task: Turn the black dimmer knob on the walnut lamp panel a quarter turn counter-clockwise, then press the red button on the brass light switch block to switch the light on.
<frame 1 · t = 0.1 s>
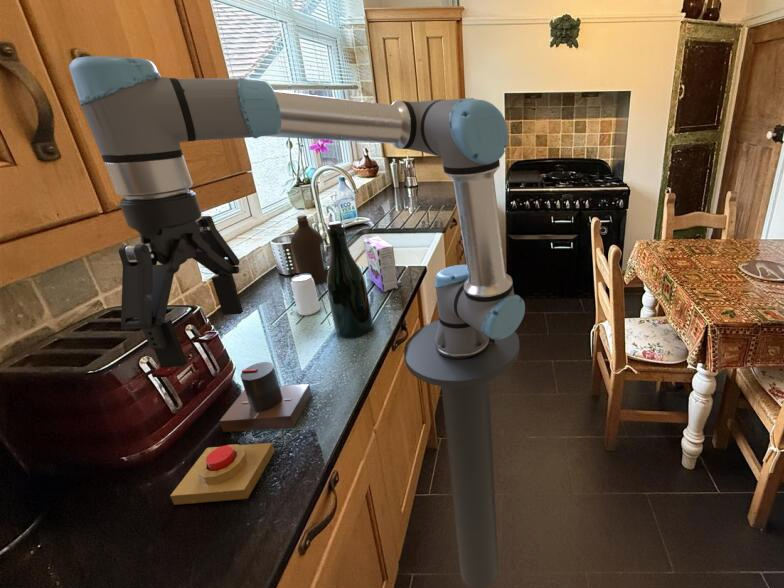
hand: (207, 336, 59), 31 cm above the table, tool pointing down, fingers open, 13 cm apart
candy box: (384, 284, 148), on the table
dimmer knob: (261, 385, 85), point 7 cm above the table, hinge at 0.0°
dark green wine bottle: (354, 329, 119), on the table
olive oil: (315, 280, 152), on the table
light button: (221, 458, 71), point 4 cm above the table, slide at 0.1 cm
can: (309, 311, 130), on the table
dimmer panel: (270, 412, 88), on the table
switch block: (228, 476, 73), on the table
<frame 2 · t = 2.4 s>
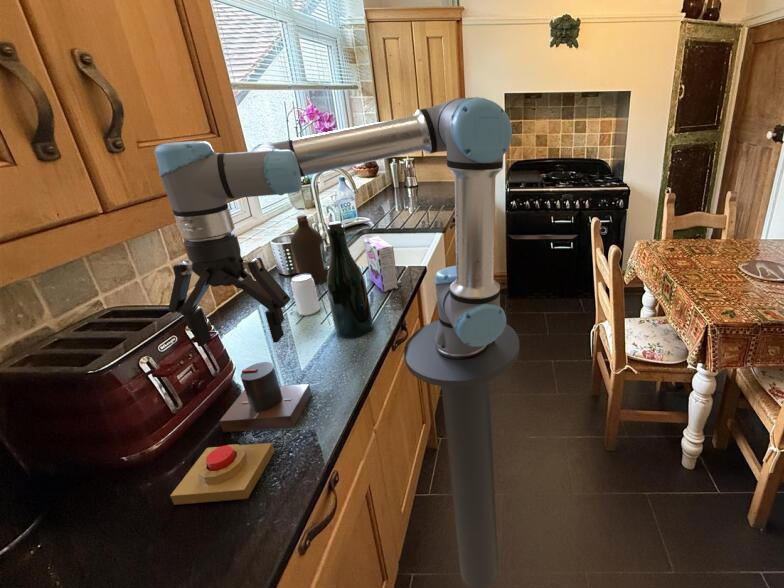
hand: (242, 340, 77), 21 cm above the table, tool pointing down, fingers open, 13 cm apart
nothing on the table moved.
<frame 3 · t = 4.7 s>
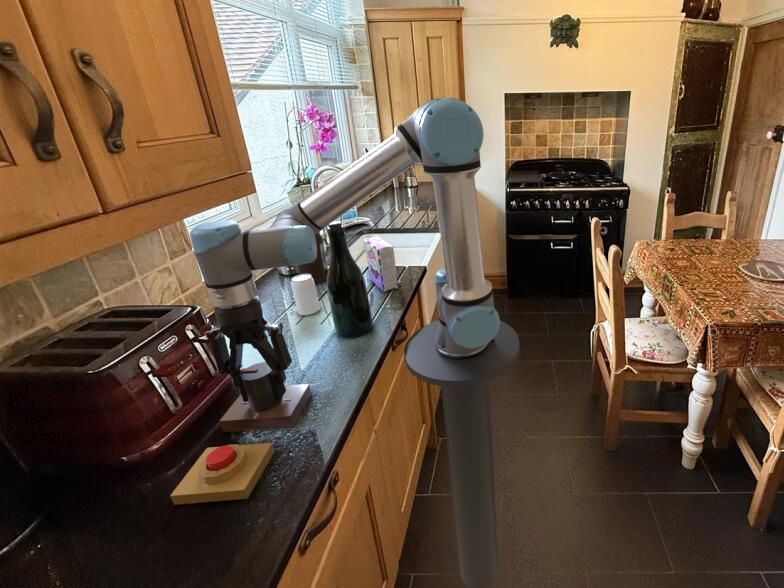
hand: (265, 396, 86), 4 cm above the table, tool pointing down, fingers closed on dimmer knob, 6 cm apart
dimmer knob: (261, 385, 85), point 7 cm above the table, hinge at 0.0°, touching gripper
everything else where it was.
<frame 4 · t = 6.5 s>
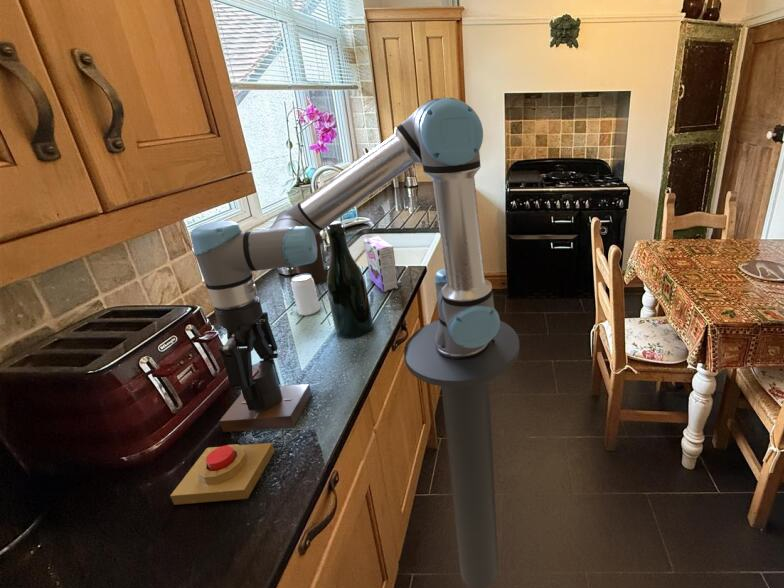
hand: (265, 396, 86), 4 cm above the table, tool pointing down, fingers open, 6 cm apart
dimmer knob: (261, 385, 85), point 7 cm above the table, hinge at 90.5°
everything else where it was.
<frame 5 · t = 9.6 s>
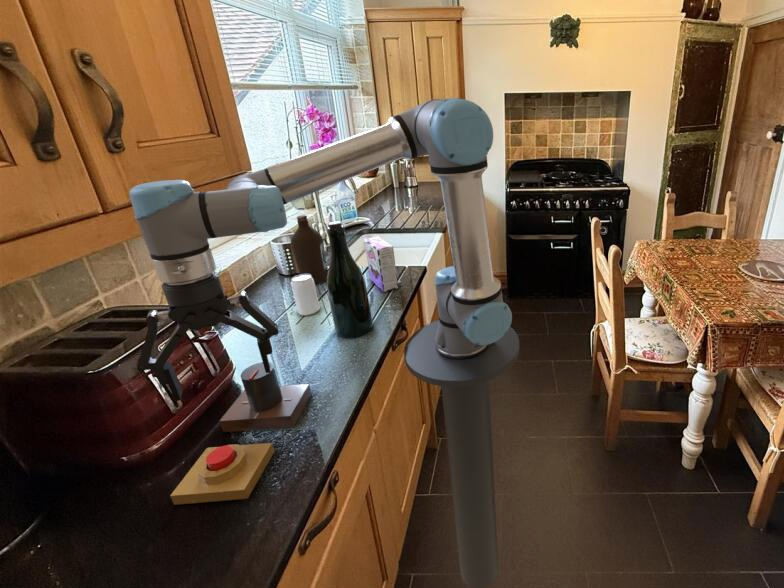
hand: (225, 382, 74), 15 cm above the table, tool pointing down, fingers open, 13 cm apart
nothing on the table moved.
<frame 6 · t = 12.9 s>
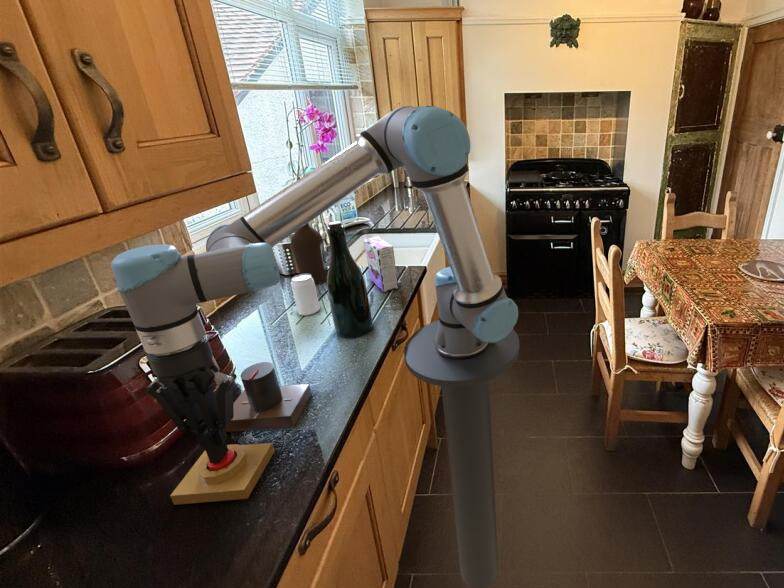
hand: (219, 456, 71), 5 cm above the table, tool pointing down, fingers closed
light button: (222, 461, 71), point 4 cm above the table, slide at -0.7 cm, touching gripper
everything else where it was.
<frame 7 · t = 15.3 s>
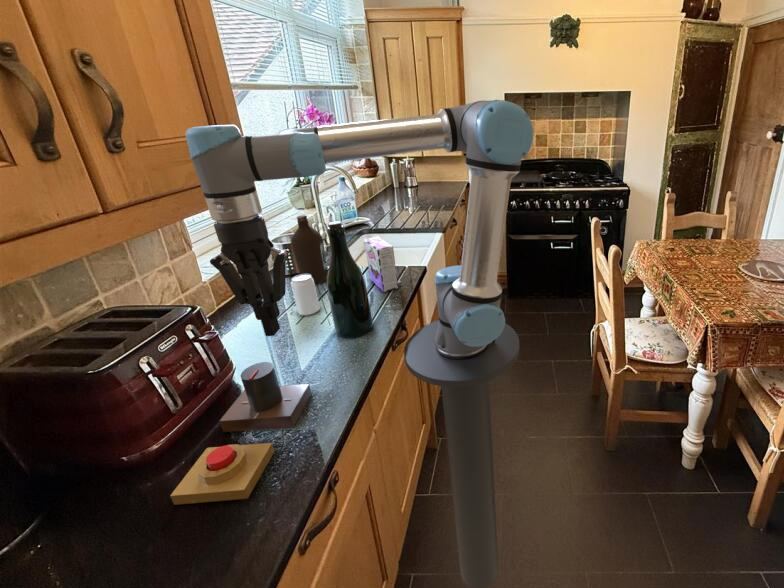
hand: (273, 332, 79), 21 cm above the table, tool pointing down, fingers closed
light button: (221, 458, 71), point 4 cm above the table, slide at 0.1 cm
everything else where it was.
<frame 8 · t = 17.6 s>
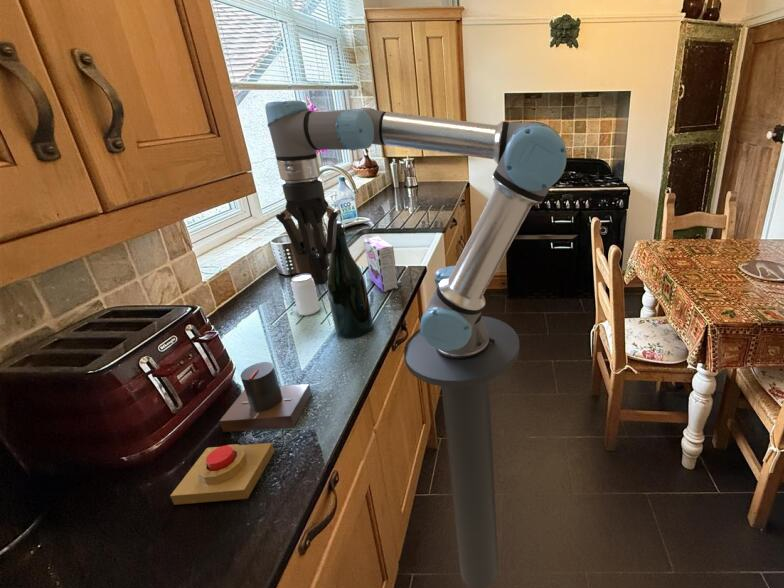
hand: (323, 281, 92), 24 cm above the table, tool pointing down, fingers closed
nothing on the table moved.
at the end: dimmer knob at +90° (first picture: +0°); light button pushed in 1.0 cm at the most during the clip, back to where it started at the end; light button slide at 0.1 cm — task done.
